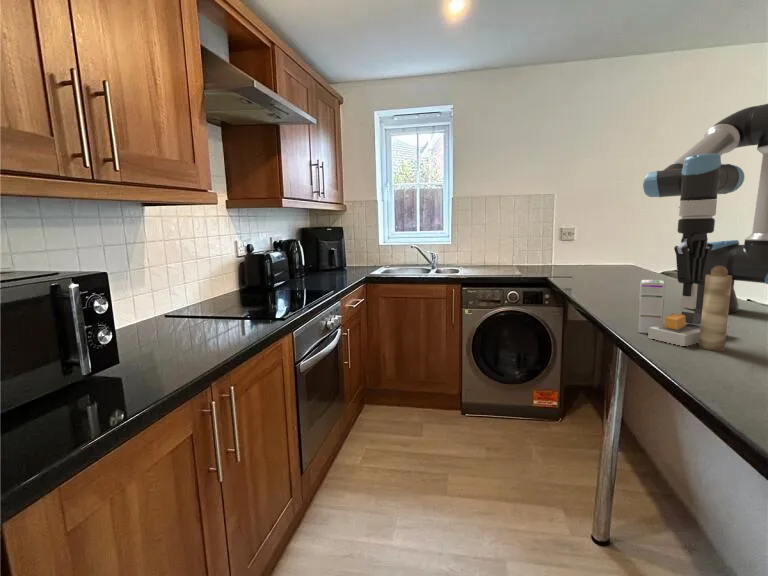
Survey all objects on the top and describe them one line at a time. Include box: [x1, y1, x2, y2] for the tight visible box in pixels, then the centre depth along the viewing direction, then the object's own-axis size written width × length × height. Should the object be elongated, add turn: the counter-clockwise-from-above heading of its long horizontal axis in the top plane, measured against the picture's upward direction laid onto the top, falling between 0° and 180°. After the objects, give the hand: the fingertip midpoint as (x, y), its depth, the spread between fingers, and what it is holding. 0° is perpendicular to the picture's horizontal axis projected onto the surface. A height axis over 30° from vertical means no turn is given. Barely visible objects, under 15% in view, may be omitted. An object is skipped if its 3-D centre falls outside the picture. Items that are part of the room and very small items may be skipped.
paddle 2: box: [693, 309, 702, 317], centre depth 113 cm, size 4×3×3 cm
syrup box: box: [637, 279, 666, 334], centre depth 117 cm, size 6×6×14 cm
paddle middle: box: [680, 311, 702, 325], centre depth 111 cm, size 4×3×3 cm
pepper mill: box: [698, 266, 732, 352], centre depth 101 cm, size 5×5×20 cm
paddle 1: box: [664, 313, 686, 330], centre depth 108 cm, size 4×3×3 cm
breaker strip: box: [647, 321, 730, 347], centre depth 111 cm, size 20×9×3 cm, turn 116°
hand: (688, 307), depth 110 cm, fingers closed
